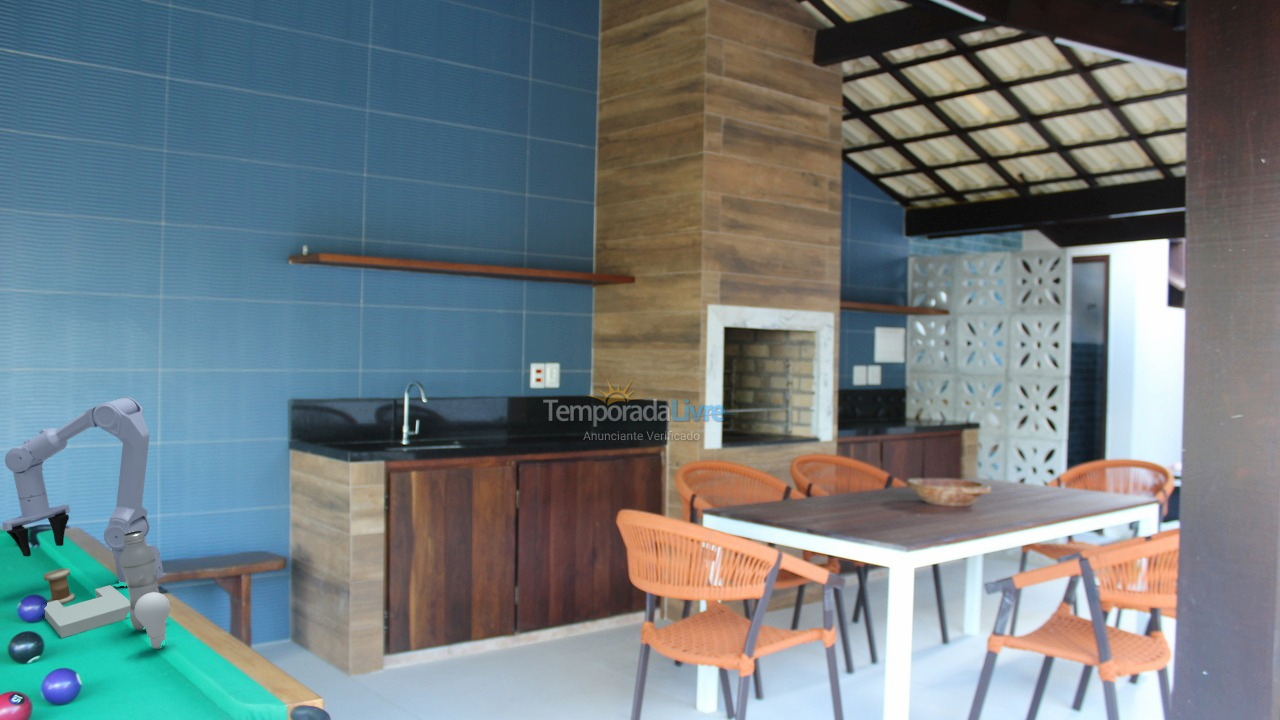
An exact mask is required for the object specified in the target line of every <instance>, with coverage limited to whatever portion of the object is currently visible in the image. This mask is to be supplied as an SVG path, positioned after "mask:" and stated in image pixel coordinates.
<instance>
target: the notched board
mask: <svg viewBox="0 0 1280 720" xmlns="http://www.w3.org/2000/svg"><path fill="white" fill-rule="evenodd" d="M111 585H112V584H110V585H105V586H102V587H98V588H95V589H94V591H95V596H96V597H95V598H92V599H89V600H85V601H81V602H77V603H74V604H72V605H68V606H67V605H66V606H64V604H61V603H60V602H59V601H58V600H55V601H52V602H46V603H47V606H46V607H45V608H44V610H45V617H44V618H45V619H46V621H47V622H48V623H49V624H50V625H51V627H52V628H53V629H54V631H55V632H57V634H58V635H59V637H60V638H61V639H64V638H67V637H70V636H71V637H72V636H74V635H77V634H80V633H83V632H87V631H89V630H90V631H91V630H93V629H96V628H100V627H103V626H107V625H110V624H113V623H116V622H117V623H118V622H120V621H123V620H127V619H126V616H127V614H128V613H129V612H130V609H131V607H130V599H128V598H127V597H126V596H124V595H123V594H122V593H121V592H120V591H118V590H117V589H116V587H112V586H111Z"/></svg>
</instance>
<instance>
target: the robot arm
mask: <svg viewBox="0 0 1280 720" xmlns="http://www.w3.org/2000/svg"><path fill="white" fill-rule="evenodd" d="M143 413H144V408H143V406H141V405H140V404H139V403H138V401H136V400H135V399H134V398H132V397H129V396H123V397H119V398H118V399H115V400H114V399H113V400H112V401H111V400H110V401H107V402H106V401H105V402H102V403H99V404H98V405H96V406H94V407H90V408H88V409H86V410H84V411H83V412H82V413H80V414H79V415H77V416H75V418H73V419H72V420H70V421H68V422H67V423H65V424H64V425H63V426H61V427H60V428H55V427H54V428H53V427H50V428H49V427H48V428H43V429H40V430H39V432H38V433H39V434H38V435H36V436H35V437H32V438H31V439H26V440H24V441H23V442H22V445H21V446H18V447H12V448H11V449H10V450H9V451H7V453H6V454H5V457H4V463H5V466H6V467H7V469H8V470H10V471H11V472H12V473H13V478H14V483H15V488H16V493H17V499H18V502H19V507H20V512H21V515H20V516H17V517H14V518H11V519H9V520H5V521H2V522H1V524H2V528H3V531H6V533H7V534H8V535H9V536H10V537H11V538H12V540H14V542H15V543H16V545H17V546H18V548H19V550H20V552H21V554H22V557H27V558H29V557H31V556H32V554H31V553H32V552H31V547H30V543H29V528H27V527H26V528H25V526H26V525H27V526H28V525H30V524H34V523H36V522H40V521H43V520H46V519H47V520H48V522H49V524H50V527H51V530H52V534H53V538H54V543H55V546H56V547H62V546H64V538H65V532H66V527H67V525H68V521H69V520H70V515H69V513H71V509H70V505H69V504H62V505H61V504H60V505H57V506H53V507H50V505H49V500H48V499H49V498H48V495H47V489H46V485H45V479H44V475H43V471H44V467H43V464H44V462H45V461H47V460H48V459H50V458H51V457H52V456H55V455H56V454H57V453H59V452H61V451H62V450H65V449H66V448H67V445H68V440H70V439H71V438H74V437H75V436H77V435H79V434H81V433H82V432H84V431H86V430H89V428H97V427H98V428H100V429H102V430H104V431H105V432H107V433H109V434H110V435H112V436H114V437H116V438H117V439H118V440H119V441H120V442H121V443H122V449H121V459H120V466H119V467H120V468H119V476H118V488H117V495H116V496H117V497H116V506H115V509H114V510H113V512H112V514H111V515H110V517H109V519H108V520H109V522H108V525H107V527H106V528H105V529H104V533H103V539H104V540H103V541H104V542H105V544H106V545H107V546H108V547H109V548H110V549H111V550H112V552H113V557H114V561H115V568H116V573H117V578H118V582H119V581H120V582H126V579H125V577H124V574H123V571H122V569H121V566H120V557H121V555H122V552H123V551H124V549H125V547H126V545H125V544H124V538H123V535H124V534H126V533H129V532H133V531H143V534H144V537H145V540H144V543H145V544H146V545H148V546H149V547H150V548H151V549H152V550H153V552H154V554H155V561H156V577H157V580H160V579H162V578H163V577H165V576H167V573H164V569H163V564H162V563H163V562H162V558H161V553H160V550H159V548H158V547H157V546H155V545H152V544H149V543H148V542H147V535H148V533H149V531H150V522H149V519H148V510H147V509H146V508H144V507H143V501H144V500H143V499H144V490H145V482H146V481H145V479H146V471H147V462H148V454H149V453H148V452H149V443H150V432H149V430H148V427H147V423H146V421H145V418H144V416H143Z"/></svg>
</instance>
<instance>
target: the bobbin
mask: <svg viewBox="0 0 1280 720" xmlns="http://www.w3.org/2000/svg"><path fill="white" fill-rule="evenodd" d="M70 571H71V570H70V568H59V569H58V568H57V569H56V570H52V571H48V572H46V573H44V574H43V580H44V581H46V582H47V581H48V585H49V590H50V596H51V598H49V599H48V602H52V601H55V600H58V601H59V602H60V603H61V604H62V605H65V604H68V603H71V602H72V601H74V600H75V599H76V598H75V593H72V592H70V587H69V582H68V578H67V577H68V576H70V574H71V572H70ZM48 602H47V603H48Z"/></svg>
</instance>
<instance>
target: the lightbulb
mask: <svg viewBox="0 0 1280 720" xmlns="http://www.w3.org/2000/svg"><path fill="white" fill-rule="evenodd" d="M170 610H171V603H170V600H169V599H168V597H167V596H166V595H164V594H163V593H160V592H159V593H157V592H151V593H147V594H145V595H143V596H142V597H141V598H140V599H139V600H138V601H137V603H136V605H135V609H134V612H135V616H136V618H137V619H138V621H139V622H140V623H141V624H142V625H143V626H144V627H145V629H146V630H145V631H146V634H147V637H148V638H149V641H150V645H151V648H153V649H157V650H159V649H160V650H161V648H160V647H161V643H162V641H163V640H165V639H166V640H167V638H166V633H167V629H166V627H167V624H166V623H167V620H168V617H169V614H170Z"/></svg>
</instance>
